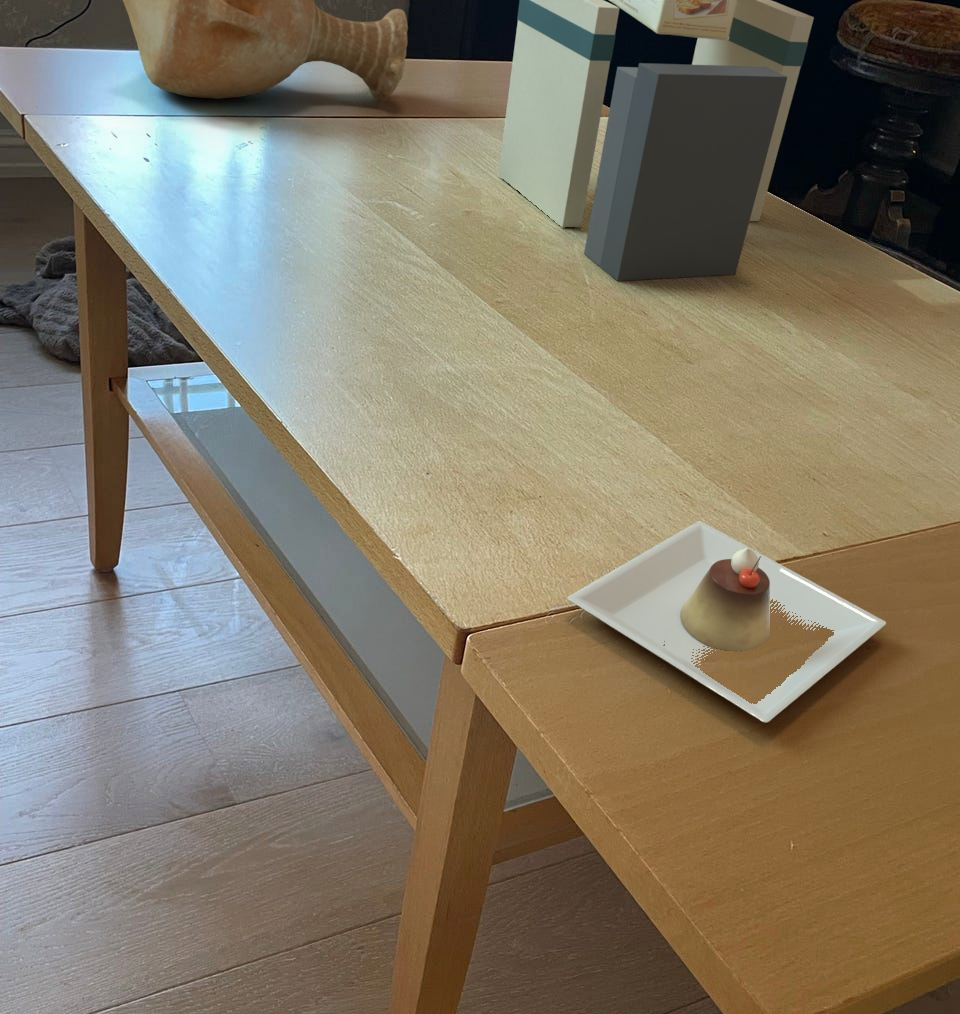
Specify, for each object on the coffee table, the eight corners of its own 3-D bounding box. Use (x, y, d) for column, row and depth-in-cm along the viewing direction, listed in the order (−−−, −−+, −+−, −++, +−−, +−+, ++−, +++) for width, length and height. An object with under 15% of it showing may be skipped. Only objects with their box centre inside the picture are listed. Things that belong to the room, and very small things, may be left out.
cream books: (684, 173, 123) (726, -18, 112) (760, 221, 113) (815, 17, 102) (497, 176, 114) (523, -31, 103) (562, 228, 105) (598, 6, 94)
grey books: (698, 248, 105) (744, 56, 95) (735, 274, 101) (787, 76, 91) (583, 253, 100) (619, 52, 90) (617, 281, 96) (658, 73, 86)
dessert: (759, 740, 53) (789, 661, 50) (562, 614, 59) (578, 536, 56) (880, 639, 61) (912, 564, 58) (694, 536, 67) (715, 463, 64)
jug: (94, -63, 123) (359, -11, 137) (105, 118, 124) (368, 153, 137) (125, -179, 105) (427, -106, 119) (138, 33, 106) (436, 83, 119)
